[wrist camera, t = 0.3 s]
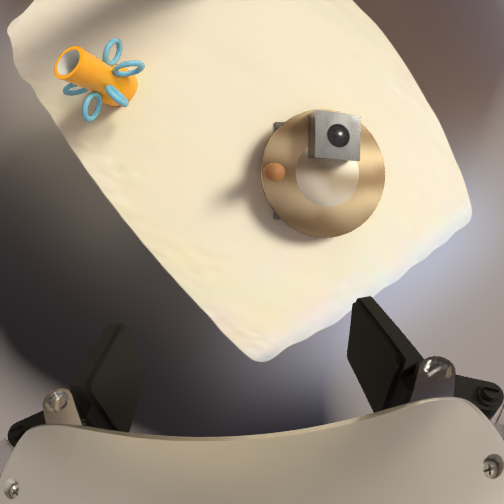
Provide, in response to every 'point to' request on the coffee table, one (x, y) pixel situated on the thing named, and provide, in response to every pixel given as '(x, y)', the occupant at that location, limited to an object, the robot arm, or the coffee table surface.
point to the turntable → (320, 182)
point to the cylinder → (98, 77)
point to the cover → (333, 136)
